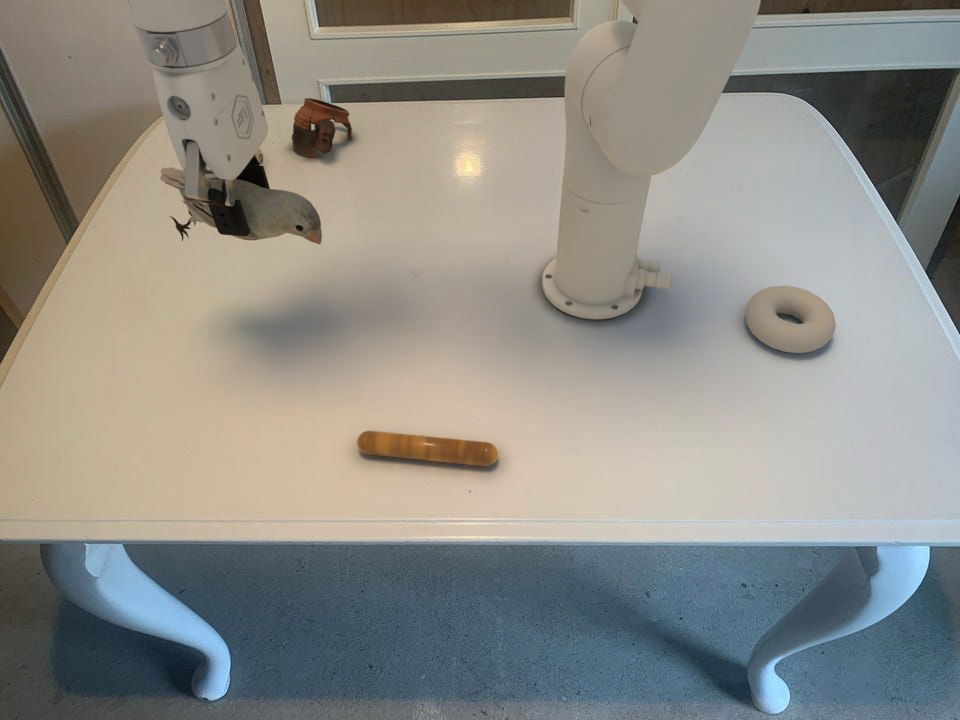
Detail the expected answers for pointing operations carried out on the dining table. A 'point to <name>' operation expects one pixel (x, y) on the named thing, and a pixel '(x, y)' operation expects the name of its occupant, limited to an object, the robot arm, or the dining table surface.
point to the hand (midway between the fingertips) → (246, 214)
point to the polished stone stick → (427, 448)
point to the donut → (783, 333)
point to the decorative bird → (254, 209)
